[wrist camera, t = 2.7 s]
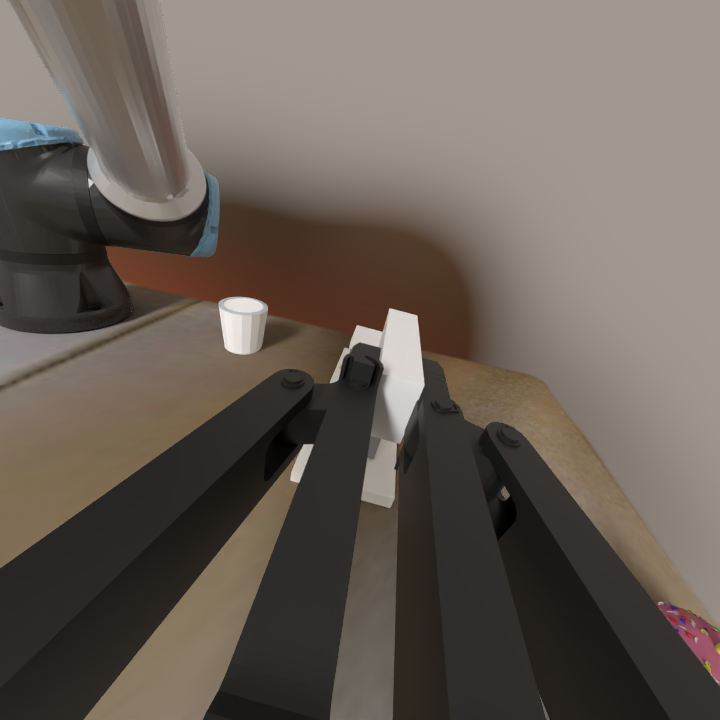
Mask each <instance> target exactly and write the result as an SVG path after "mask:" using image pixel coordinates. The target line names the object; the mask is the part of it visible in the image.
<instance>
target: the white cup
mask: <svg viewBox="0 0 720 720" xmlns="http://www.w3.org/2000/svg"><path fill="white" fill-rule="evenodd" d="M219 310H220V317H221V324H222V331H223V338H224V344H225V348H226V349H227V350H228V351H230V352H233V353H236V354H252V353H255V352H257V351H259V350H260V349H261V347H262V343H263V337H264V331H265V324H266V318H267V312H268V307H267V305H266V304H265V303H263V302H262V301H259V300H256V299H253V298H248V297H229V298H226V299H222V300H221V301H220V302H219Z"/></svg>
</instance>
